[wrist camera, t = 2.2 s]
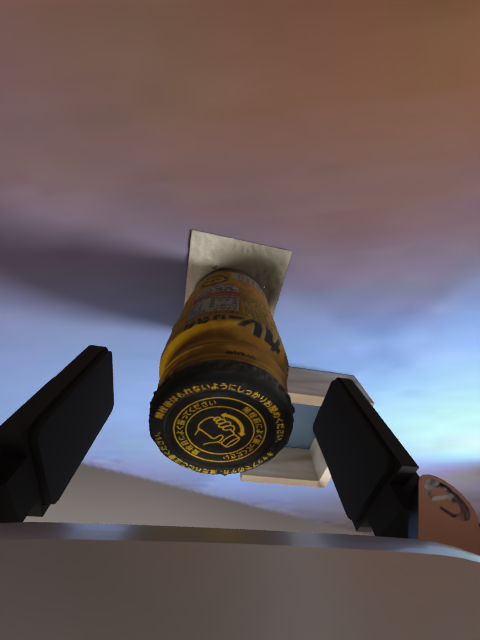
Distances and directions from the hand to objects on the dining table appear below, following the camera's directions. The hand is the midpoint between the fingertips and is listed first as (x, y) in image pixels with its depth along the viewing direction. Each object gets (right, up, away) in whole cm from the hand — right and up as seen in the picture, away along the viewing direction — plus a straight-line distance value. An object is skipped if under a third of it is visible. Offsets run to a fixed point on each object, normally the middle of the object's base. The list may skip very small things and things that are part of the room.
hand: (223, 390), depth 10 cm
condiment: (0, +5, +9) cm, 10 cm away
